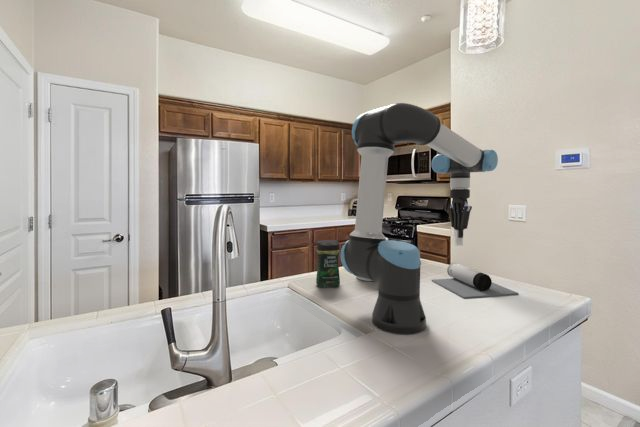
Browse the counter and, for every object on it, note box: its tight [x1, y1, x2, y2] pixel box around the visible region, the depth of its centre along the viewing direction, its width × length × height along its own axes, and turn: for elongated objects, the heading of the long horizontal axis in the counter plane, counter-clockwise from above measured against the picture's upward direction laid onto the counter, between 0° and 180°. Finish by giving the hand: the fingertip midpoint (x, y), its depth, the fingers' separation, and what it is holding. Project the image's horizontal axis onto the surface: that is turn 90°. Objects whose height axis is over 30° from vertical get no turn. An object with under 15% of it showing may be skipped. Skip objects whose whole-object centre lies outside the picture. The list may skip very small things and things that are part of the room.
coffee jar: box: [315, 239, 341, 288], centre depth 128 cm, size 10×8×19 cm
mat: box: [431, 277, 519, 299], centre depth 124 cm, size 22×22×1 cm
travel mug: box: [446, 262, 493, 291], centre depth 127 cm, size 6×7×20 cm
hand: (458, 245), depth 132 cm, fingers closed
